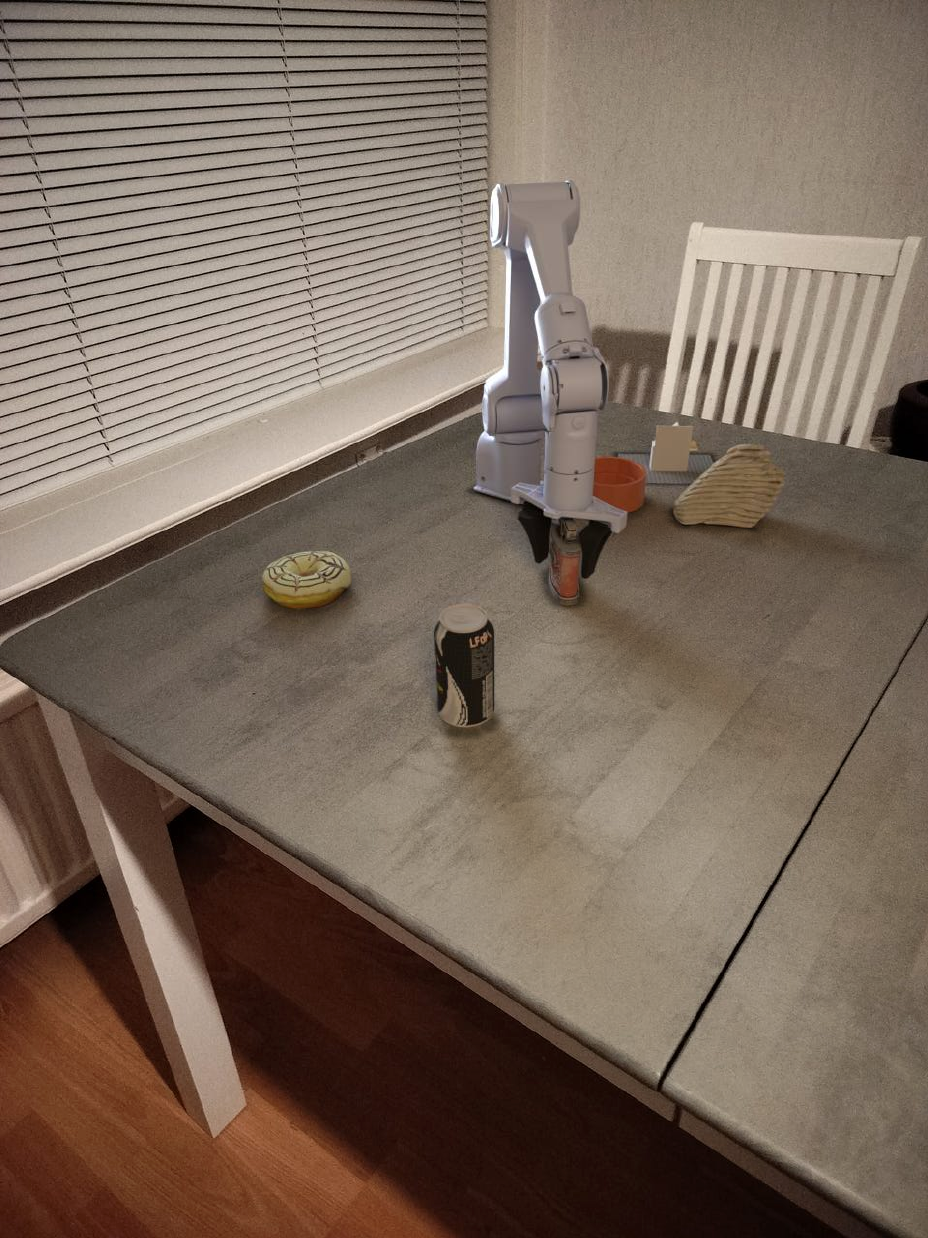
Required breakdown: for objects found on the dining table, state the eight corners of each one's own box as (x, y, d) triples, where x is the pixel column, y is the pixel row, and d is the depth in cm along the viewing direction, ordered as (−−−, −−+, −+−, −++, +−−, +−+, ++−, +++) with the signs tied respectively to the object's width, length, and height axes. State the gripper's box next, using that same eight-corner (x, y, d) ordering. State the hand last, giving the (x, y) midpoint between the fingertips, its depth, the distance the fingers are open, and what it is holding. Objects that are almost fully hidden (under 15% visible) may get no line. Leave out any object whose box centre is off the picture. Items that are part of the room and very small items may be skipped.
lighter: (544, 571, 106) (547, 501, 101) (570, 570, 107) (574, 499, 101) (555, 605, 100) (559, 532, 94) (583, 603, 100) (588, 530, 94)
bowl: (559, 506, 122) (561, 475, 119) (593, 481, 129) (595, 451, 126) (623, 524, 117) (626, 492, 114) (654, 497, 124) (658, 466, 121)
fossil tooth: (670, 516, 121) (776, 509, 119) (676, 535, 116) (787, 527, 114) (672, 441, 115) (783, 432, 113) (678, 457, 110) (795, 448, 108)
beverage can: (439, 695, 86) (434, 599, 79) (494, 695, 86) (494, 599, 79) (436, 732, 81) (431, 633, 75) (494, 733, 81) (494, 633, 74)
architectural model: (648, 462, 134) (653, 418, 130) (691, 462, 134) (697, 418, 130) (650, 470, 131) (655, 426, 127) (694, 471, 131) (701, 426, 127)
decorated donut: (368, 591, 103) (365, 566, 101) (295, 625, 98) (290, 598, 95) (322, 561, 110) (318, 536, 108) (250, 590, 104) (245, 565, 102)
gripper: (497, 462, 95) (497, 564, 102) (610, 492, 88) (601, 599, 95) (529, 442, 100) (527, 541, 107) (639, 469, 92) (628, 573, 100)
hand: (564, 567), depth 102 cm, fingers closed on lighter, 6 cm apart
